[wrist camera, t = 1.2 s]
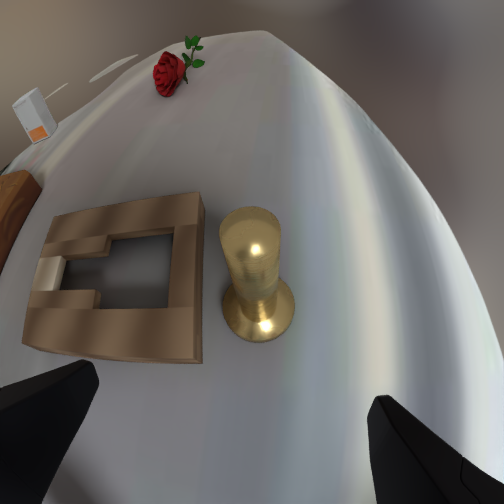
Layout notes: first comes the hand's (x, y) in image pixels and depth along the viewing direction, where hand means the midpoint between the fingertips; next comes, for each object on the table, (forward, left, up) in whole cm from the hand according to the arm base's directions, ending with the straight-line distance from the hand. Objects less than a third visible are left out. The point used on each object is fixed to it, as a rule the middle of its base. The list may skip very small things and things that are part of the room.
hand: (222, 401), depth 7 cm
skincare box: (-2, +64, -13) cm, 65 cm away
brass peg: (+6, +5, -13) cm, 15 cm away
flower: (+31, +52, -13) cm, 63 cm away
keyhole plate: (-3, +16, -13) cm, 21 cm away
